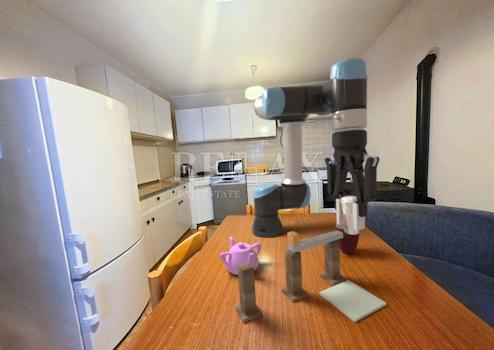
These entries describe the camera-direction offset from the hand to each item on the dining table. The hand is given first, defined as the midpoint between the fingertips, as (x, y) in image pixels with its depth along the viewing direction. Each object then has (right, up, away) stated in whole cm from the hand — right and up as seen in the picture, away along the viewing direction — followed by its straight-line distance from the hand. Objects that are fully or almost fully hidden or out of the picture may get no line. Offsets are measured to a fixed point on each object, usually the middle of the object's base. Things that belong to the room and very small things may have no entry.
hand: (350, 225), depth 53 cm
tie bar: (-6, -7, +8) cm, 12 cm away
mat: (+1, -19, +2) cm, 20 cm away
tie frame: (-12, -20, +6) cm, 24 cm away
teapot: (-27, -20, +21) cm, 40 cm away
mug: (+11, -17, +26) cm, 33 cm away
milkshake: (0, -2, 0) cm, 2 cm away
